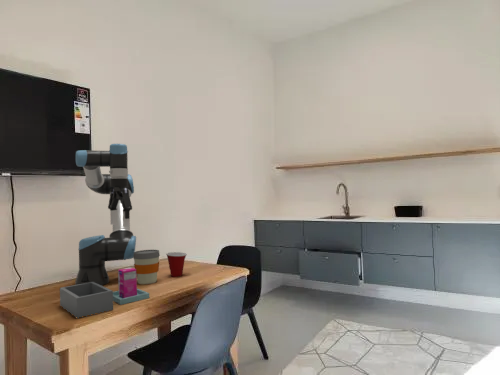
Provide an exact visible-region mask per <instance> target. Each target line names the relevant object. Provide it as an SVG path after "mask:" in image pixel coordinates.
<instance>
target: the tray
mask: <svg viewBox="0 0 500 375" xmlns="http://www.w3.org/2000/svg"><path fill="white" fill-rule="evenodd" d="M146 299H150V293H149V292H147V291H146V290H143V289H140V288H138V287H137V295H136V296H131V297H127V298H121V297H119V290H116V291H113V303H116V304H118V305H120V306H121V305H126V304H130V303H134V302H137V301H139V302H140V301H142V300H146Z"/></svg>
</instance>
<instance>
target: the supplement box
mask: <svg viewBox="0 0 500 375" xmlns="http://www.w3.org/2000/svg"><path fill="white" fill-rule="evenodd" d="M117 275H118V276H117V279H118V280H117V284H118V291H119V297H121V298H127V297H131V296H136V295H137V288H138V285H137V284H138V281H137V274H136V269H135V267H134V268H133V267H125V268H119V269H118V270H117Z"/></svg>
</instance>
